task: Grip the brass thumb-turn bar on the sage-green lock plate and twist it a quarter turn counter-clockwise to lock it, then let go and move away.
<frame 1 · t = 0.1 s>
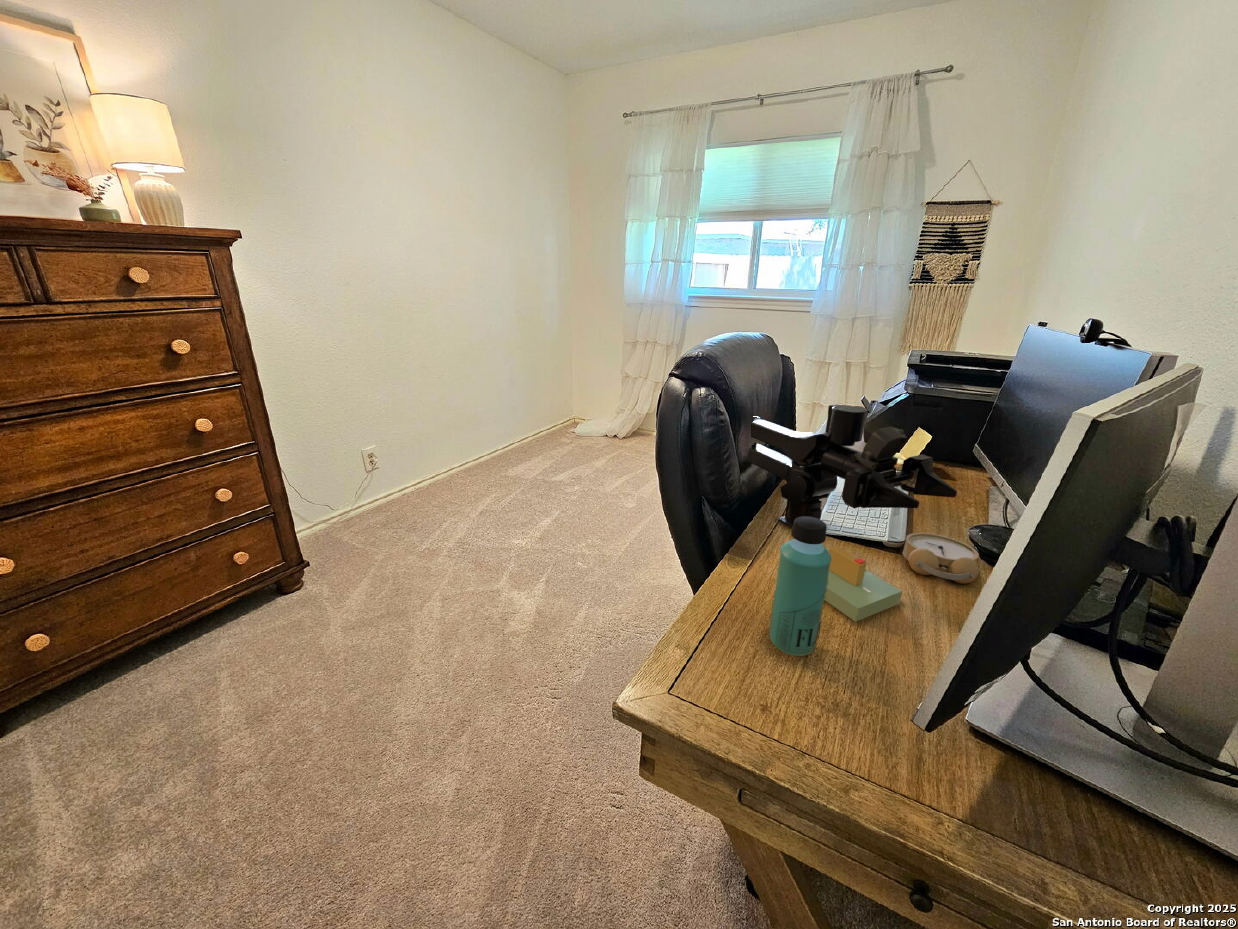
hand: (937, 499, 75), 17 cm above the table, tool horizontal, fingers open, 9 cm apart
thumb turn: (845, 564, 79), point 5 cm above the table, hinge at 0.0°
lock plate: (840, 588, 81), on the table
alarm clock: (937, 568, 87), on the table
beverage bottle: (790, 649, 68), on the table
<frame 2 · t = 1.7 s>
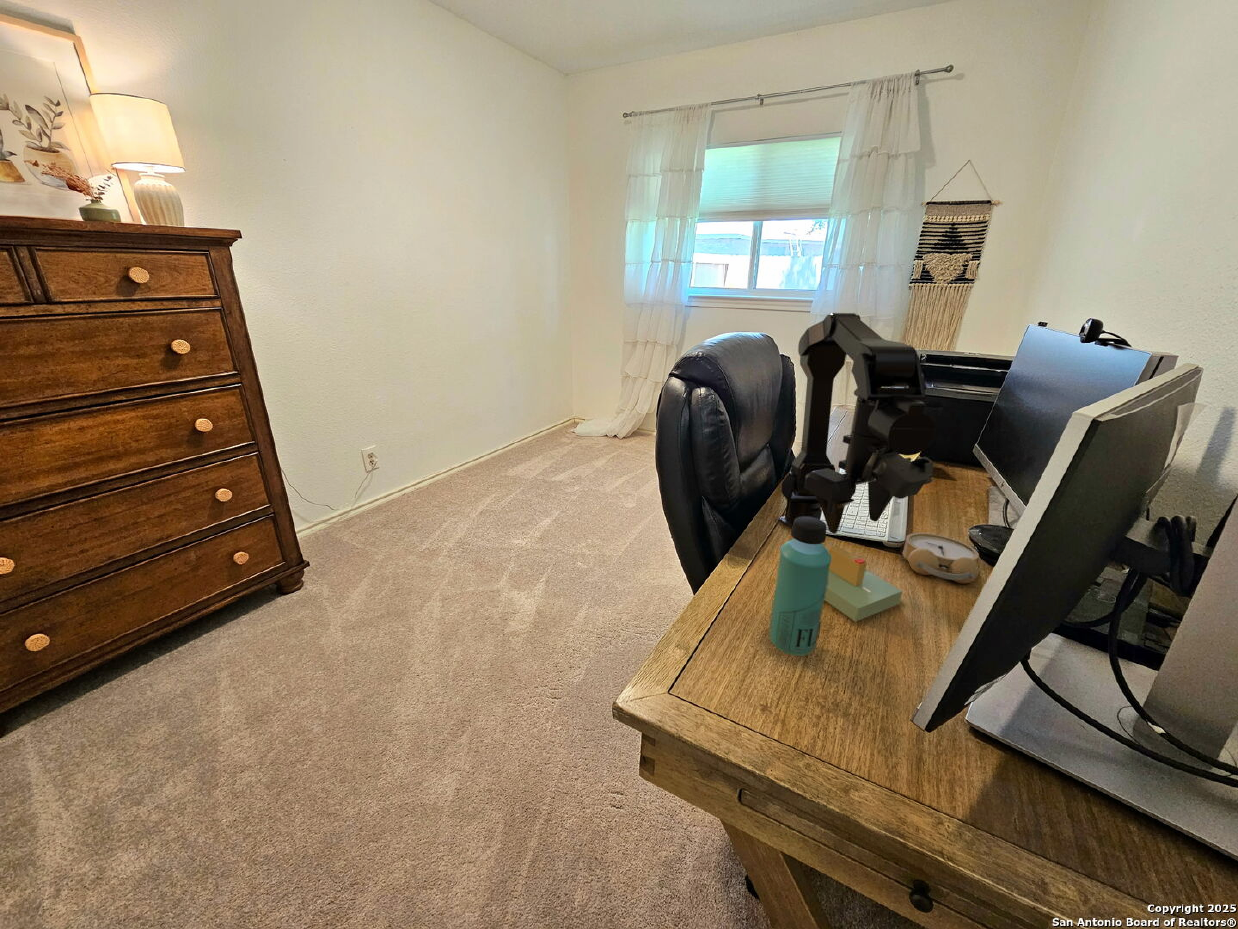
hand: (853, 526, 77), 12 cm above the table, tool pointing down, fingers open, 9 cm apart
nothing on the table moved.
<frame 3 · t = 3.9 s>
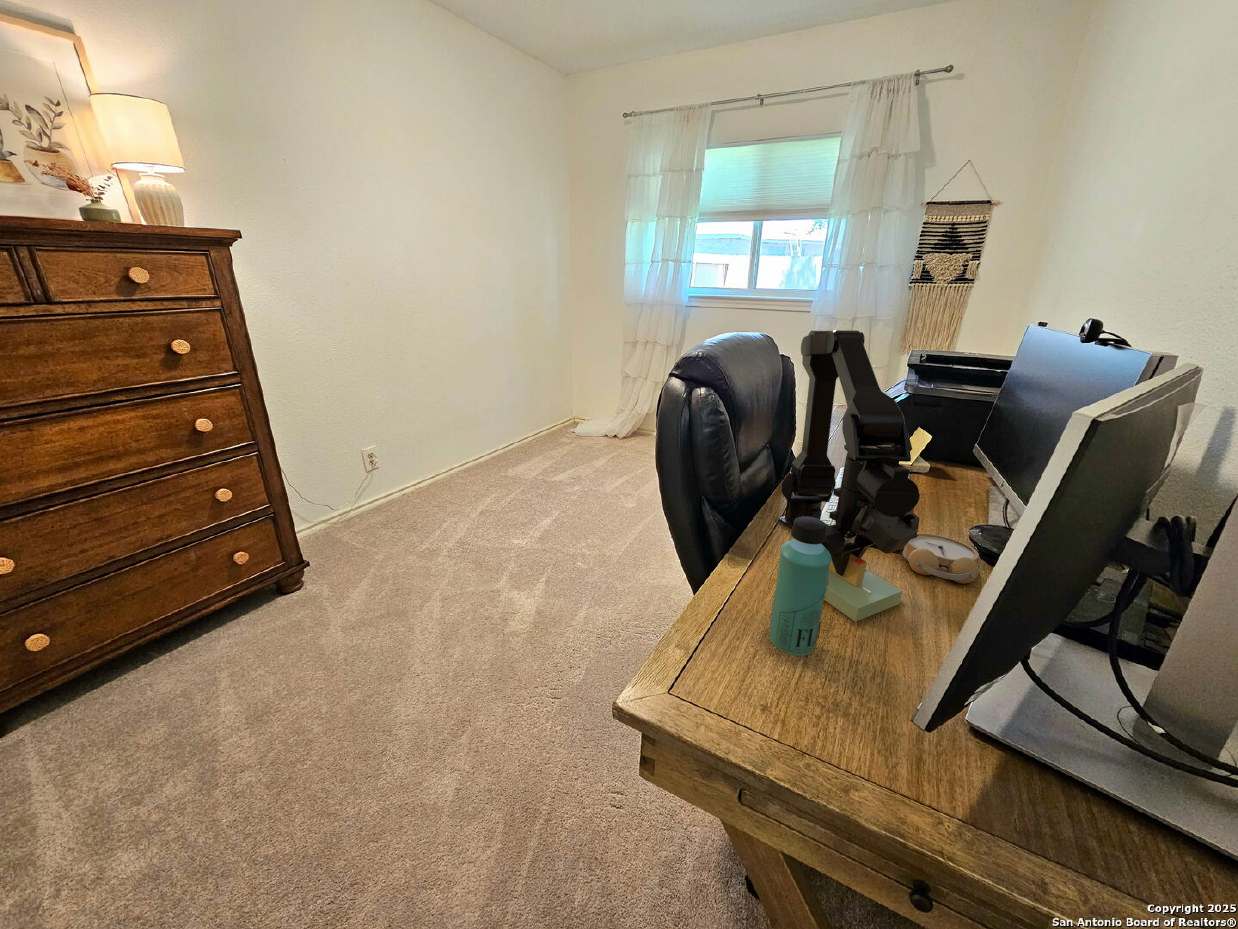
hand: (843, 573, 80), 3 cm above the table, tool pointing down, fingers closed on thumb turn, 2 cm apart
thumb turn: (845, 564, 79), point 5 cm above the table, hinge at 0.0°, touching gripper
everything else where it was.
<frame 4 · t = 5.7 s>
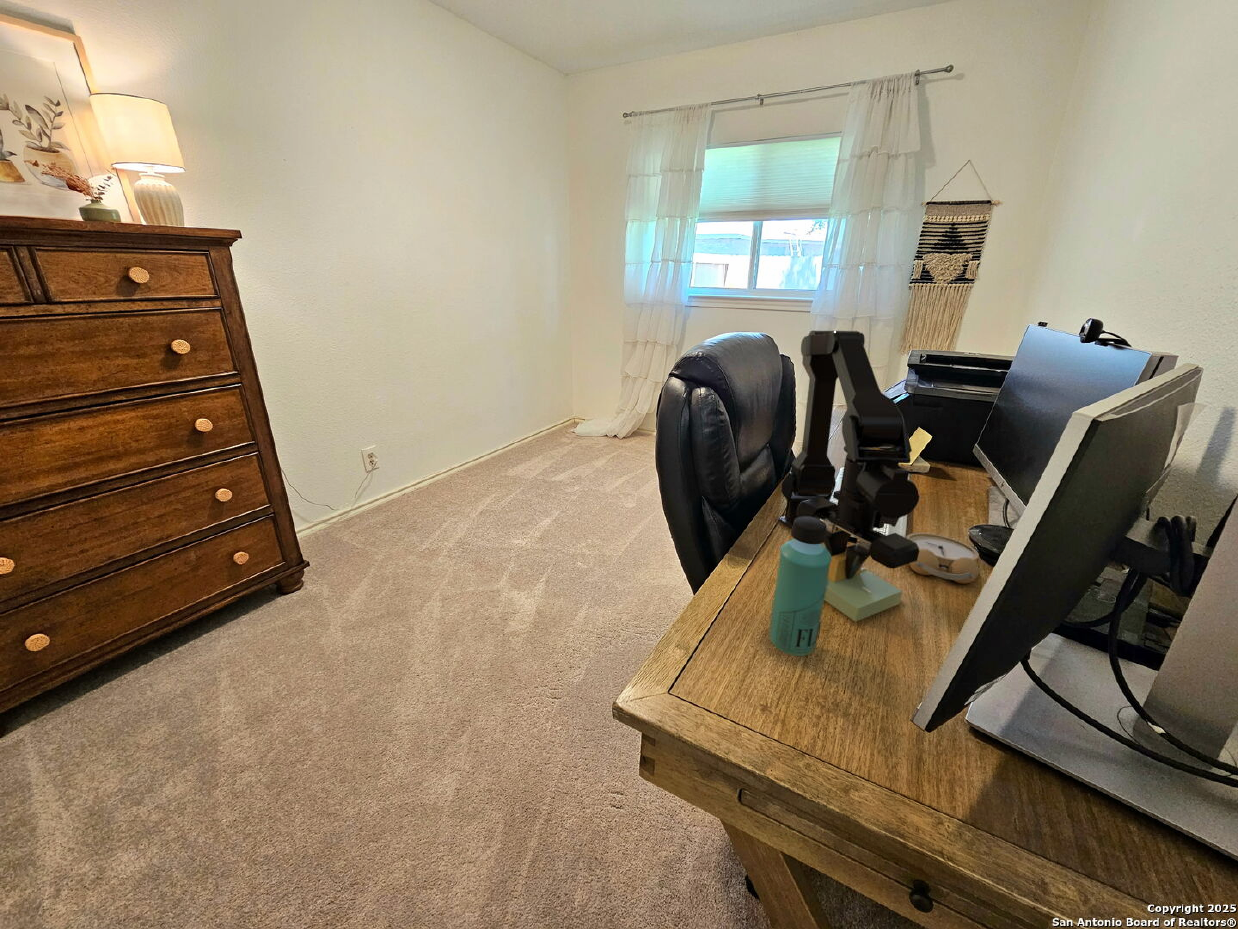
hand: (843, 574, 80), 3 cm above the table, tool pointing down, fingers closed
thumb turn: (845, 564, 79), point 5 cm above the table, hinge at 89.7°
everything else where it was.
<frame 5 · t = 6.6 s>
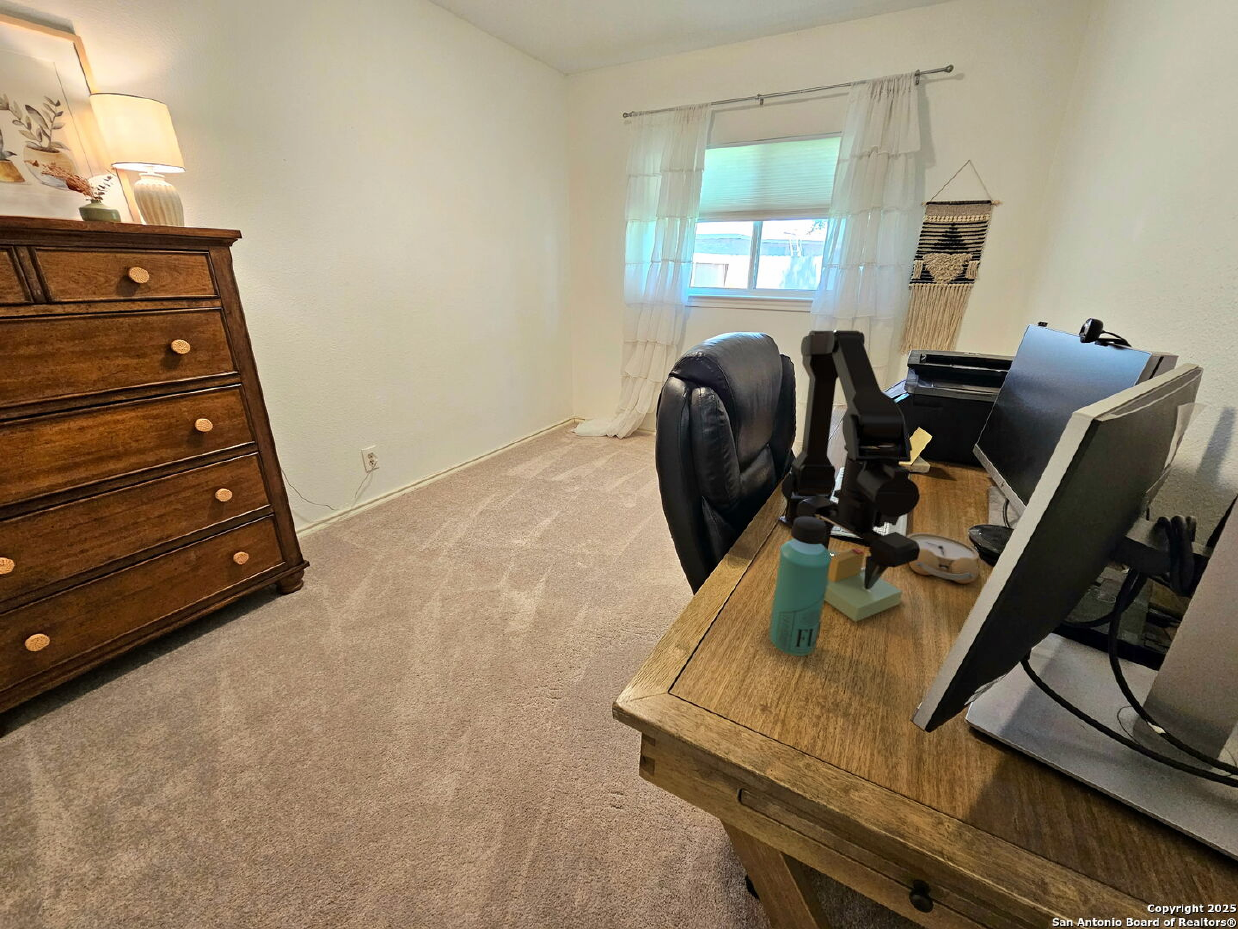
hand: (843, 573, 80), 3 cm above the table, tool pointing down, fingers open, 9 cm apart
nothing on the table moved.
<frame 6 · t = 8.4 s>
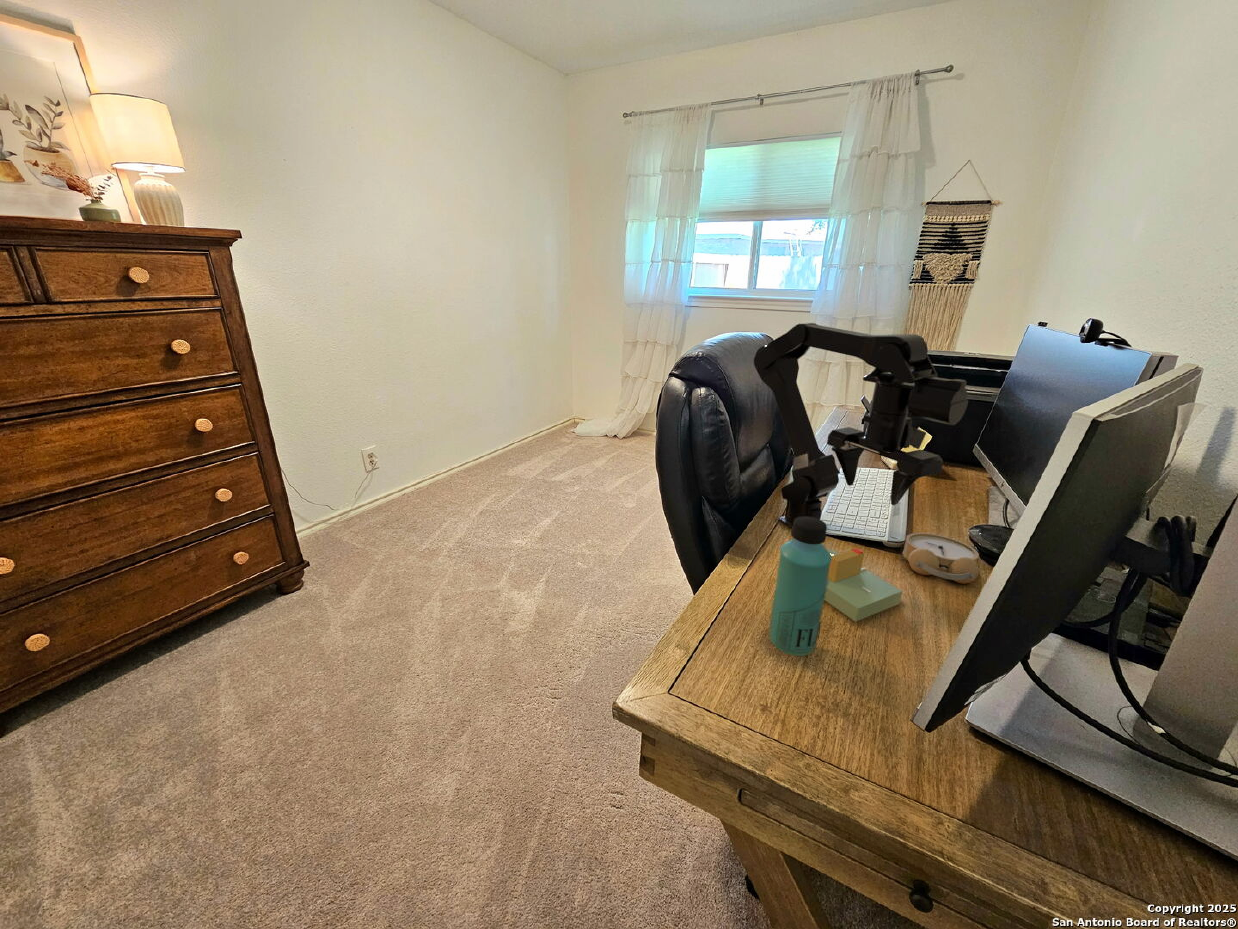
hand: (871, 494, 87), 12 cm above the table, tool pointing down, fingers open, 9 cm apart
nothing on the table moved.
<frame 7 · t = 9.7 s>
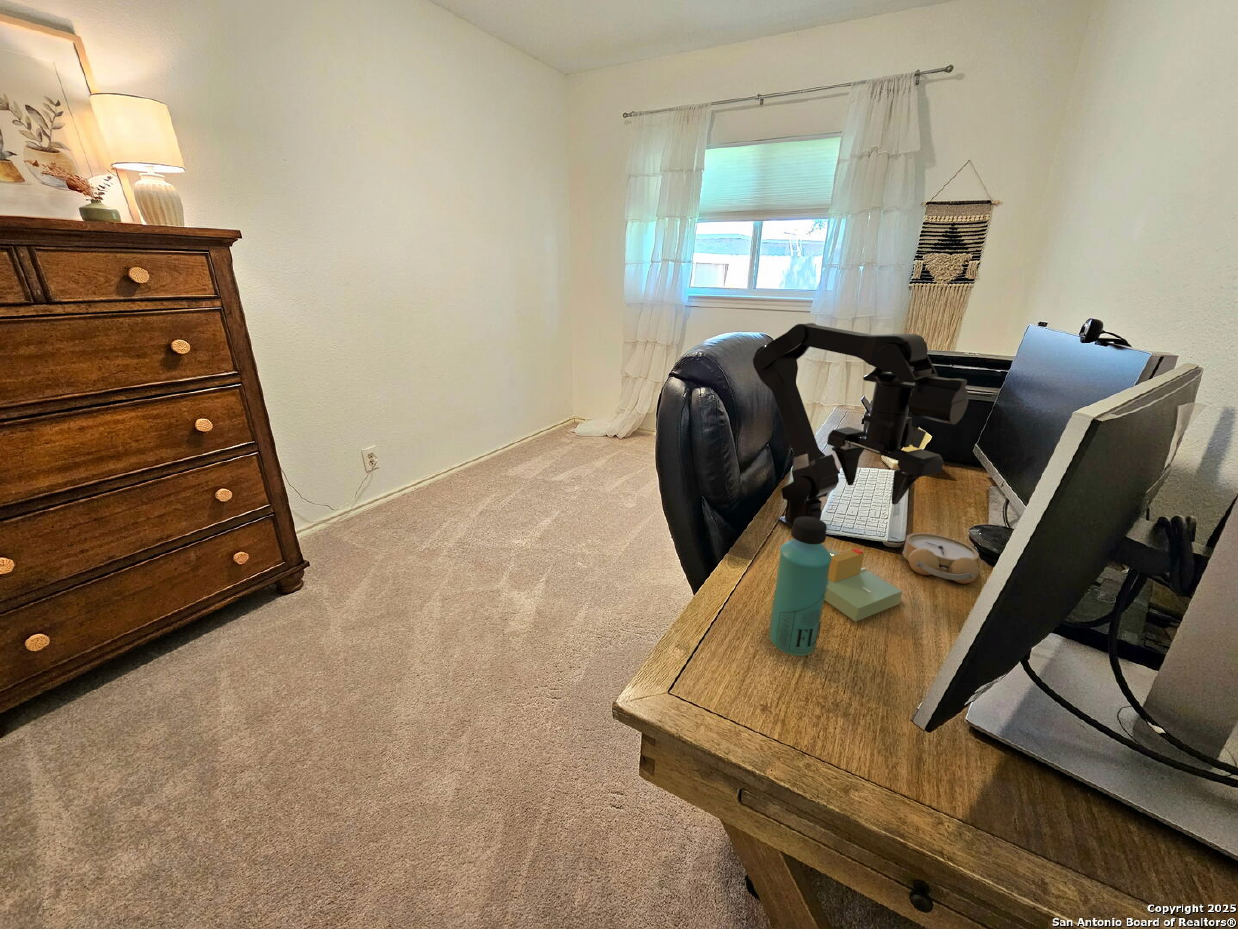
hand: (871, 494, 88), 12 cm above the table, tool pointing down, fingers open, 9 cm apart
nothing on the table moved.
at the end: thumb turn at +90° (first picture: +0°) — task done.
